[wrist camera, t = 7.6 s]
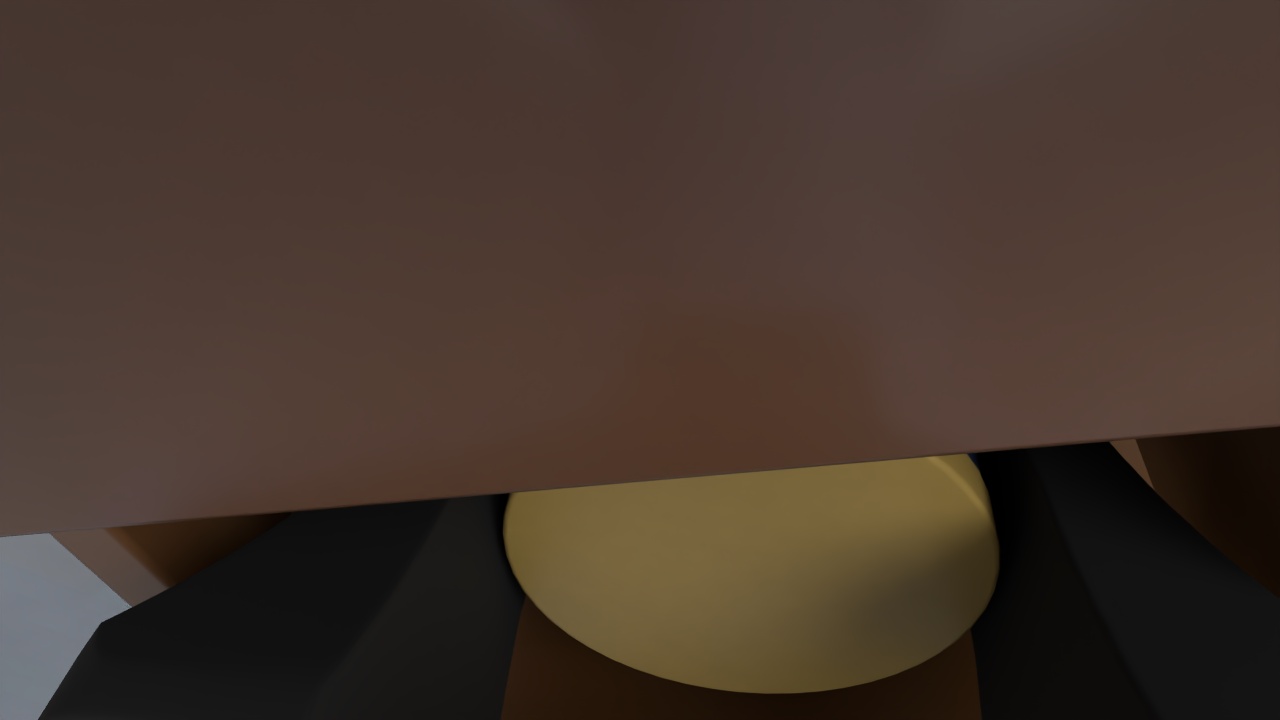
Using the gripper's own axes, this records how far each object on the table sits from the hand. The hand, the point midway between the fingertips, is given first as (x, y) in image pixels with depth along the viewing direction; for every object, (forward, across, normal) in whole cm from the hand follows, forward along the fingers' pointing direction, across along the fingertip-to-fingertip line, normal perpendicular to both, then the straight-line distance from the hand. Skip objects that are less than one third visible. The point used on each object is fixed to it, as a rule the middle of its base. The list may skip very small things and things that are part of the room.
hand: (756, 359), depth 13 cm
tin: (+1, 0, 0) cm, 1 cm away
